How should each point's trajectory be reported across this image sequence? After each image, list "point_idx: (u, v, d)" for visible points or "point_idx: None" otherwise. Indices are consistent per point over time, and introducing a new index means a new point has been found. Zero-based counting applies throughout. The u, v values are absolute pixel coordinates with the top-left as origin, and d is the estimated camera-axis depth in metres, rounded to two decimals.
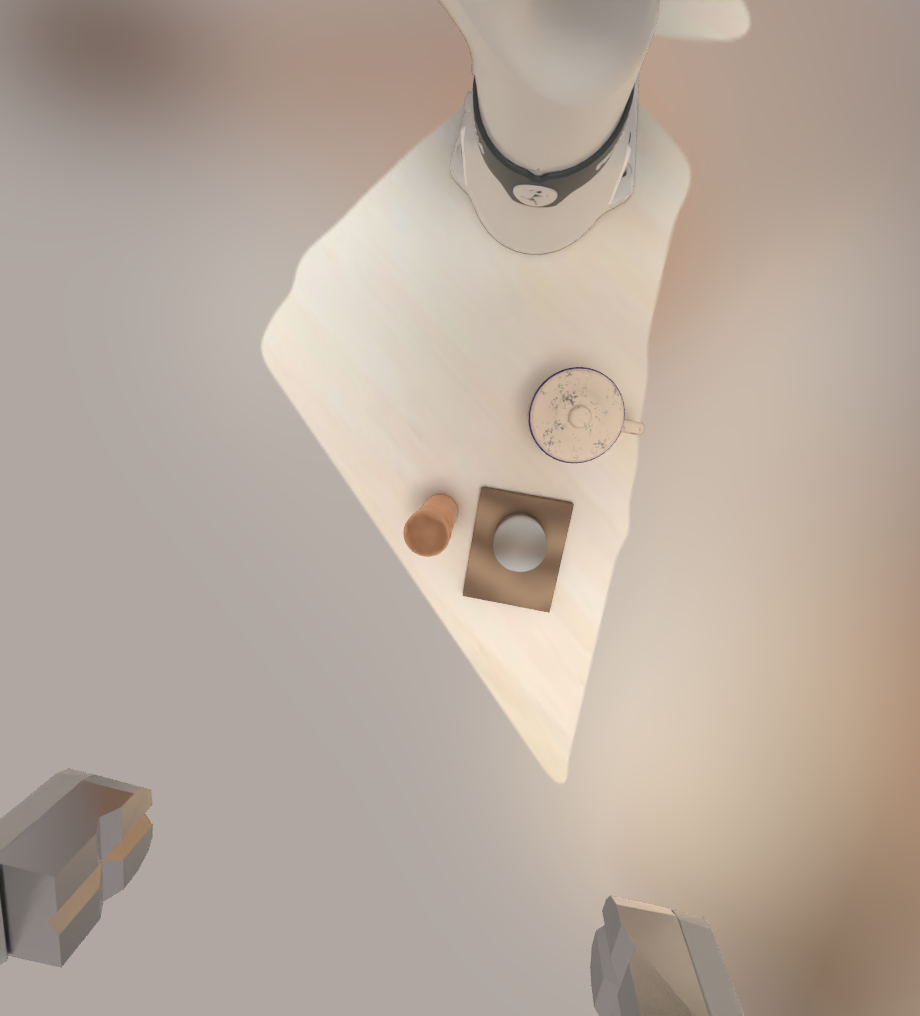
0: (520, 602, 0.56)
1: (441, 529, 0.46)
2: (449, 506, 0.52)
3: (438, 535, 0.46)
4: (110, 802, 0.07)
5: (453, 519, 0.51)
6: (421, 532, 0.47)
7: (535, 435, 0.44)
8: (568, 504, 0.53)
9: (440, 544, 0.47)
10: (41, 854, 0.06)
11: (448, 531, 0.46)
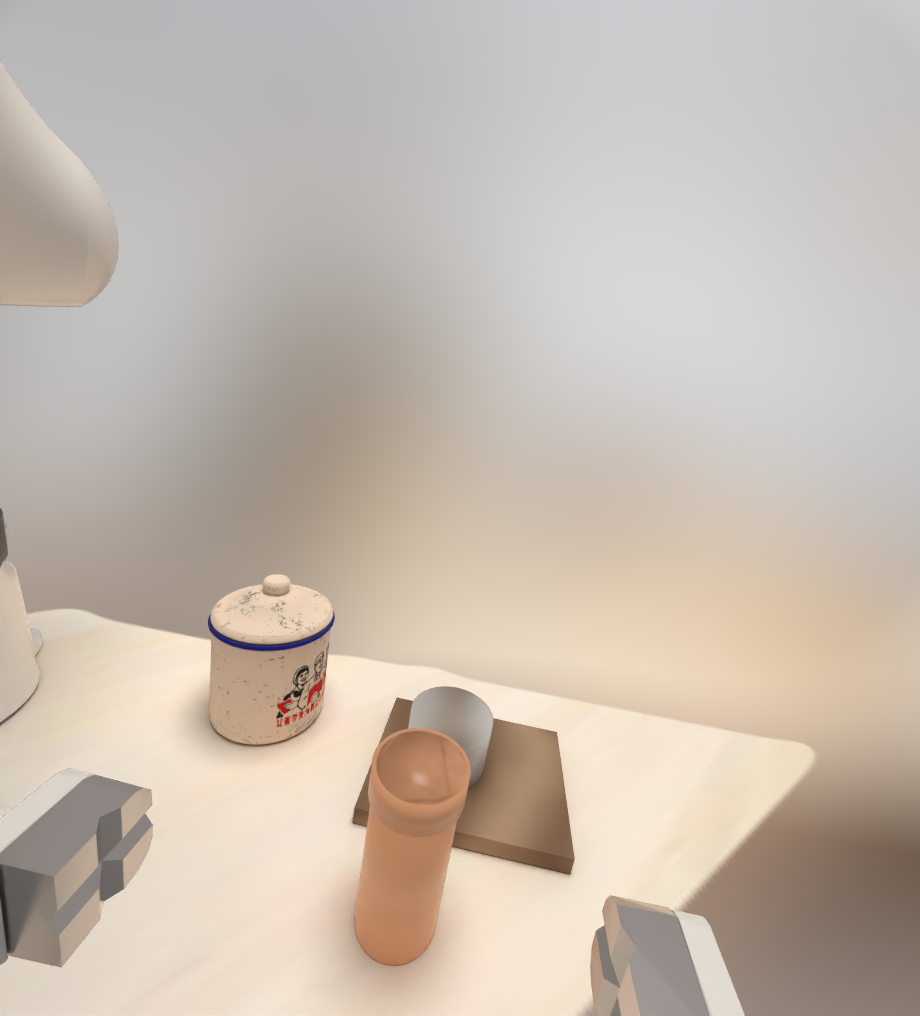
0: (554, 764, 0.35)
1: (412, 738, 0.23)
2: None
3: (424, 744, 0.23)
4: (110, 802, 0.07)
5: None
6: (417, 772, 0.21)
7: (282, 637, 0.32)
8: None
9: (442, 743, 0.23)
10: (41, 854, 0.06)
11: (416, 729, 0.24)
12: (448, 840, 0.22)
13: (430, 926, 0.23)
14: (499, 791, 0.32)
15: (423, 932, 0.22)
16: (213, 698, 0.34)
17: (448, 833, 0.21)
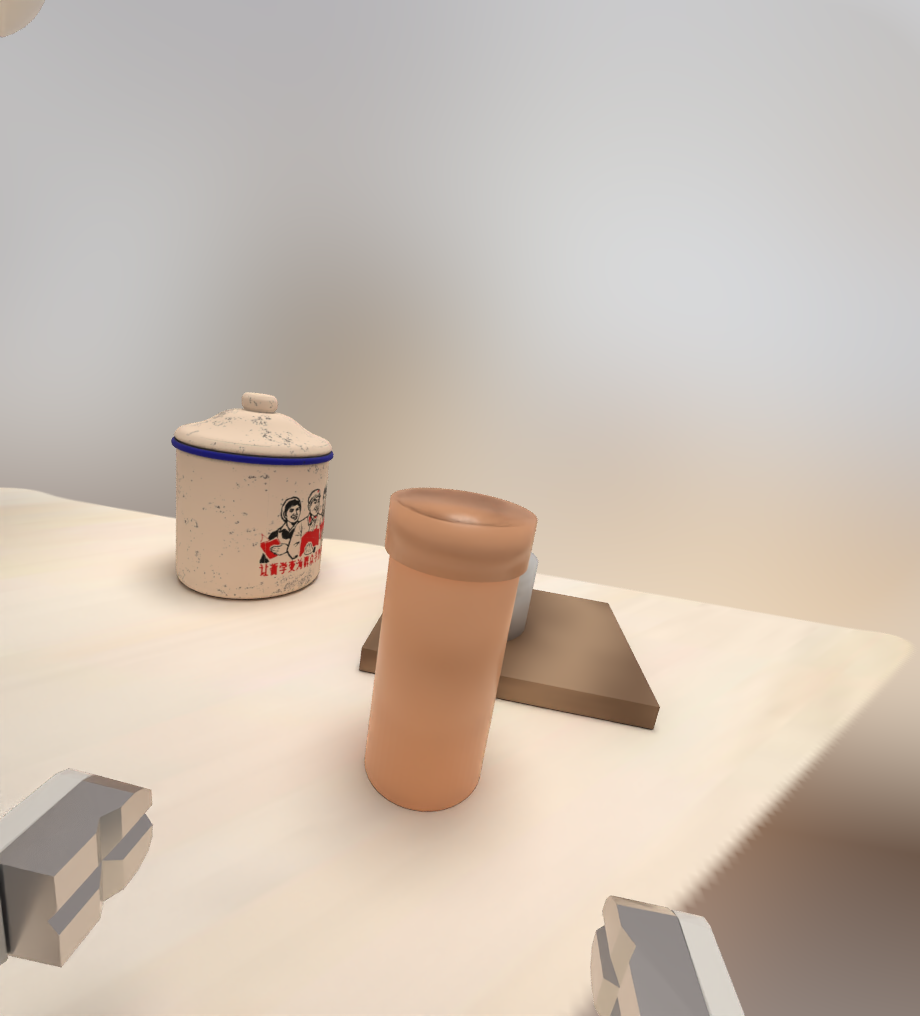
0: (611, 627, 0.28)
1: (446, 493, 0.16)
2: None
3: (464, 497, 0.16)
4: (110, 802, 0.07)
5: None
6: (459, 509, 0.14)
7: (265, 448, 0.24)
8: None
9: (490, 500, 0.16)
10: (41, 854, 0.06)
11: (450, 491, 0.17)
12: (506, 612, 0.14)
13: (476, 758, 0.16)
14: (548, 644, 0.24)
15: (467, 762, 0.15)
16: (179, 540, 0.26)
17: (508, 598, 0.14)
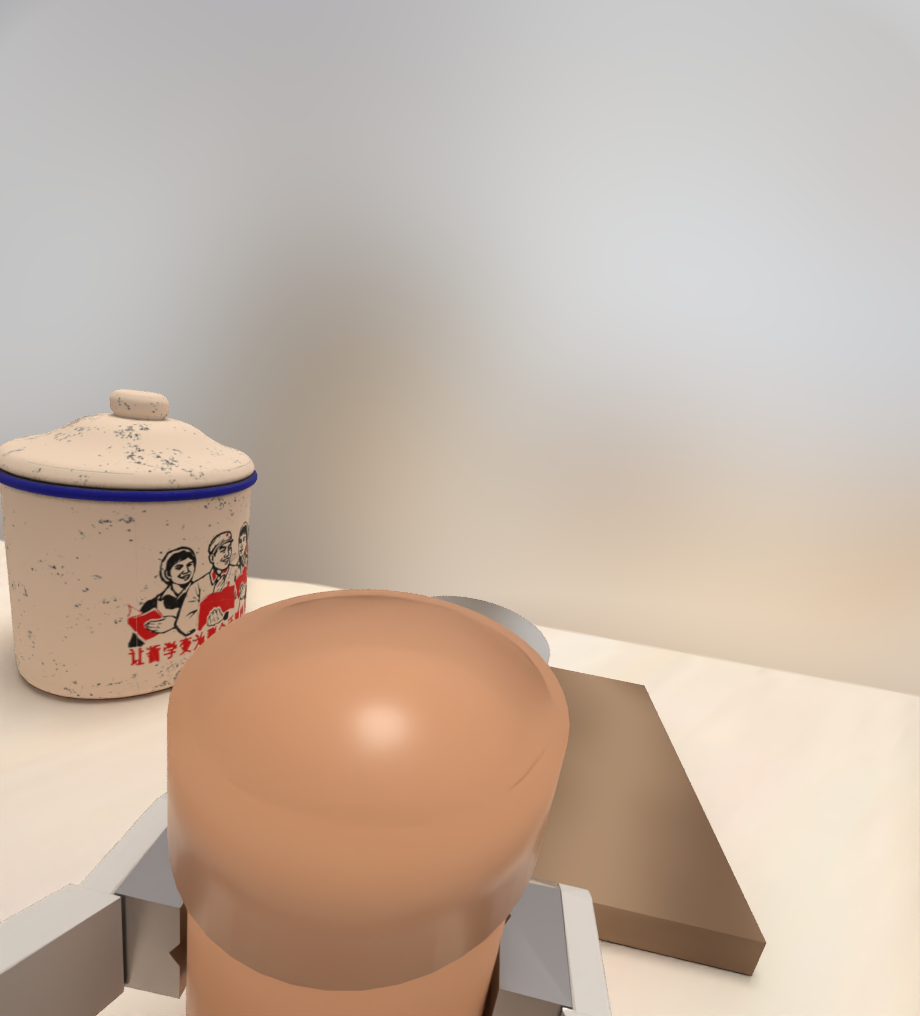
0: (656, 737, 0.19)
1: (361, 609, 0.07)
2: None
3: (399, 623, 0.07)
4: None
5: None
6: (365, 694, 0.05)
7: (125, 476, 0.16)
8: None
9: (459, 624, 0.07)
10: (162, 884, 0.06)
11: (379, 594, 0.08)
12: (488, 962, 0.05)
13: None
14: (566, 785, 0.16)
15: None
16: (11, 611, 0.18)
17: (491, 938, 0.05)
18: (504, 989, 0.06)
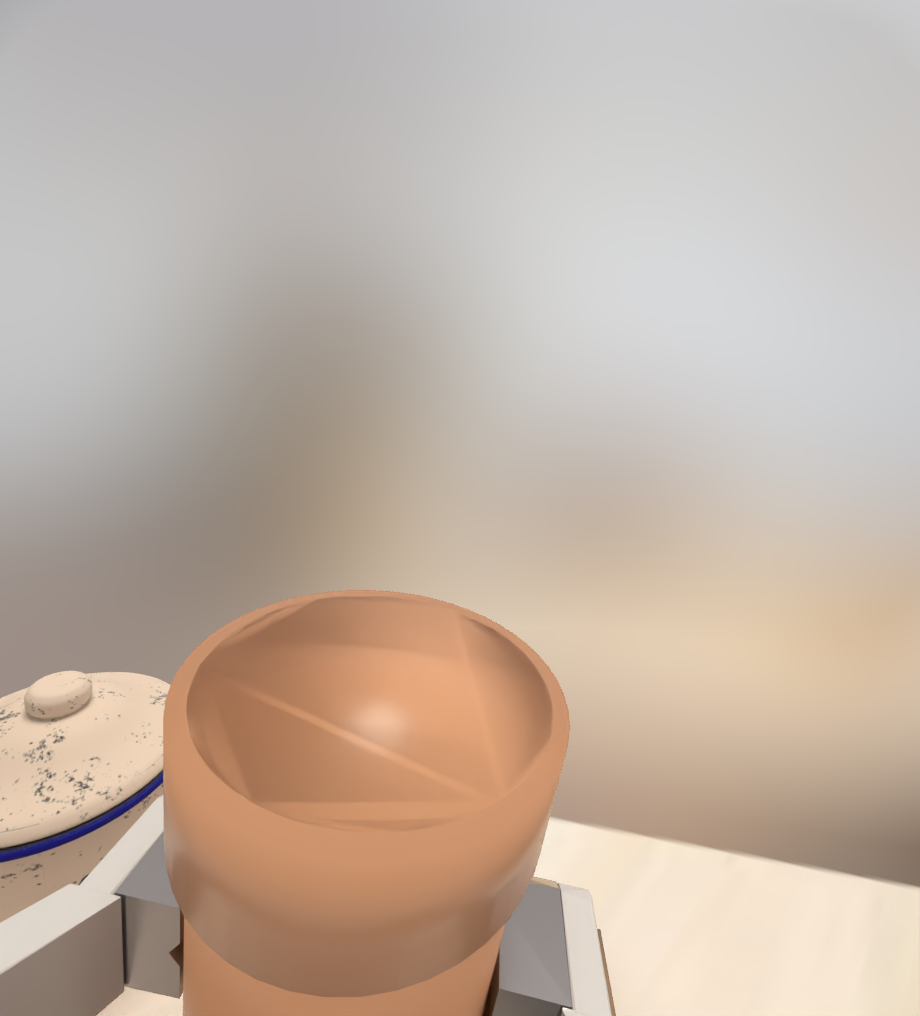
0: None
1: (360, 610, 0.07)
2: None
3: (398, 624, 0.07)
4: None
5: None
6: (363, 696, 0.05)
7: (29, 829, 0.15)
8: None
9: (458, 625, 0.07)
10: (162, 884, 0.06)
11: (378, 595, 0.08)
12: (487, 966, 0.05)
13: None
14: None
15: None
16: None
17: (491, 942, 0.05)
18: (504, 989, 0.06)
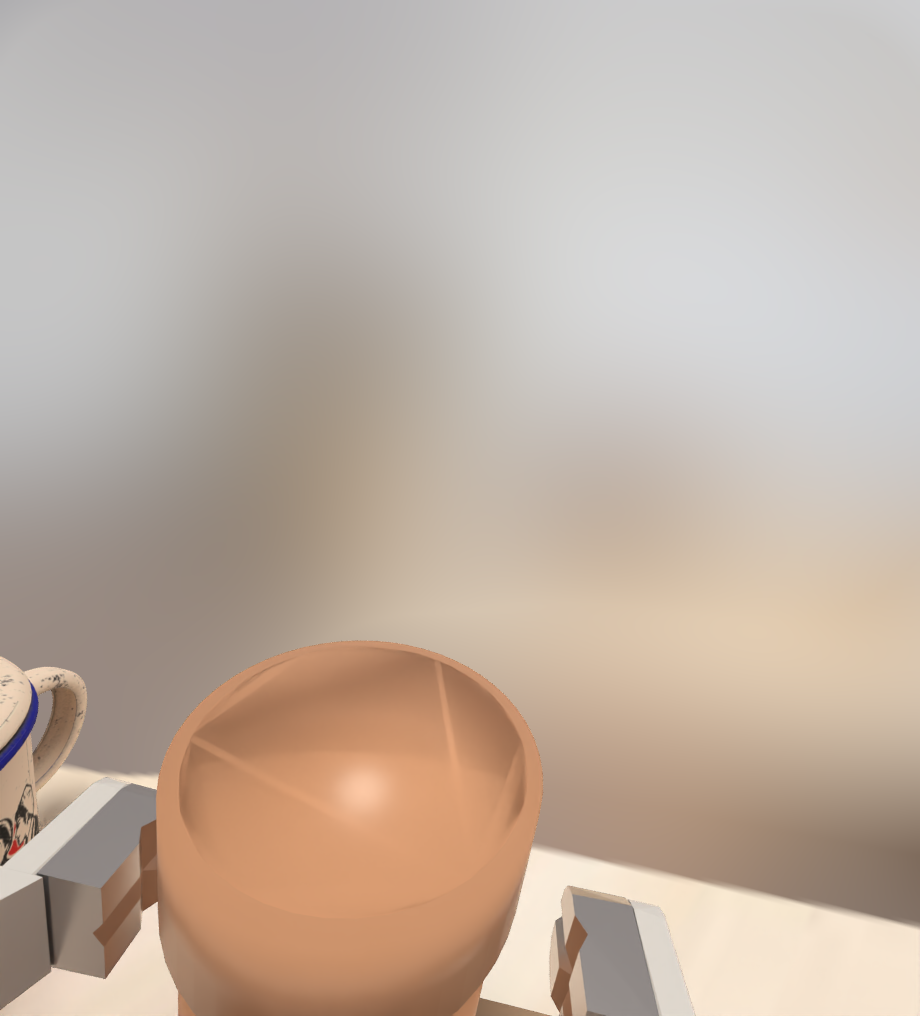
0: None
1: (348, 665, 0.08)
2: None
3: (384, 680, 0.07)
4: (150, 811, 0.07)
5: None
6: (347, 765, 0.06)
7: None
8: None
9: (442, 678, 0.08)
10: (86, 865, 0.06)
11: (366, 645, 0.08)
12: None
13: None
14: None
15: None
16: None
17: (468, 1000, 0.06)
18: (591, 1011, 0.06)
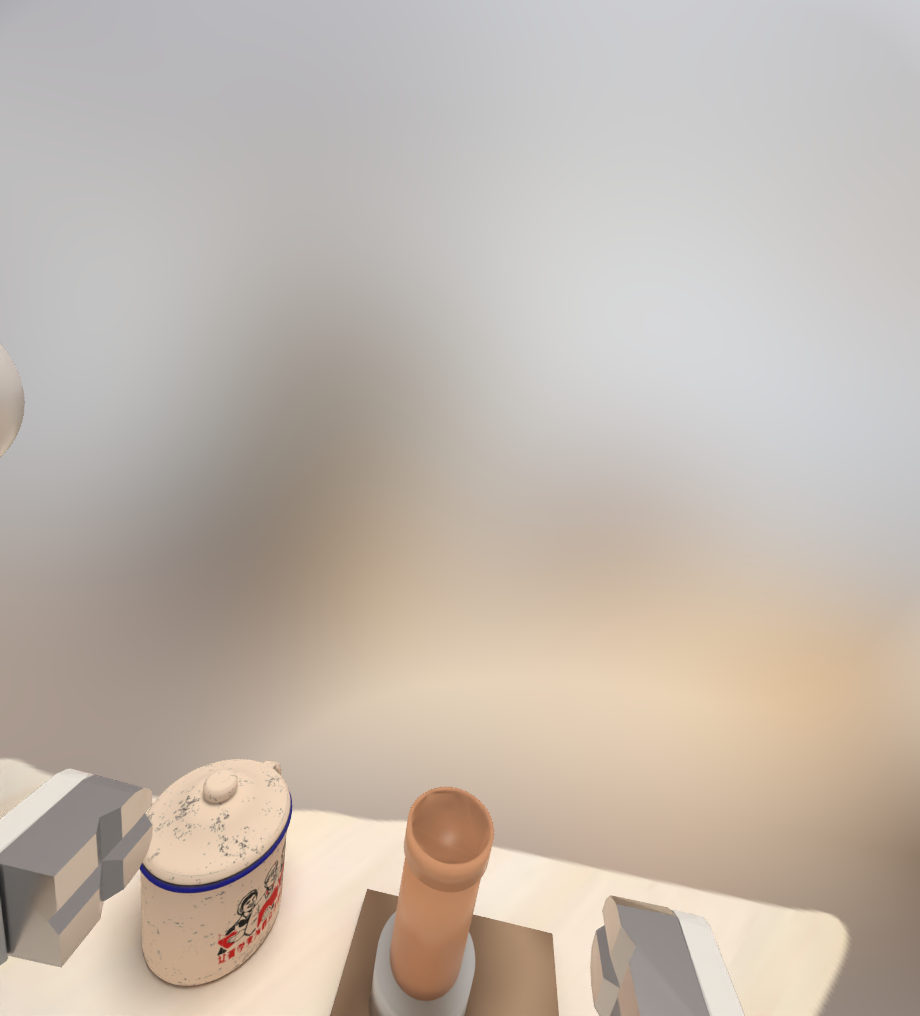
0: (548, 996, 0.30)
1: (440, 798, 0.26)
2: None
3: (451, 803, 0.26)
4: (110, 802, 0.07)
5: None
6: (448, 832, 0.24)
7: (221, 872, 0.26)
8: (366, 898, 0.34)
9: (467, 802, 0.26)
10: (41, 854, 0.06)
11: (443, 788, 0.27)
12: (475, 891, 0.25)
13: (458, 965, 0.26)
14: None
15: (452, 971, 0.25)
16: (143, 929, 0.28)
17: (475, 886, 0.24)
18: None
